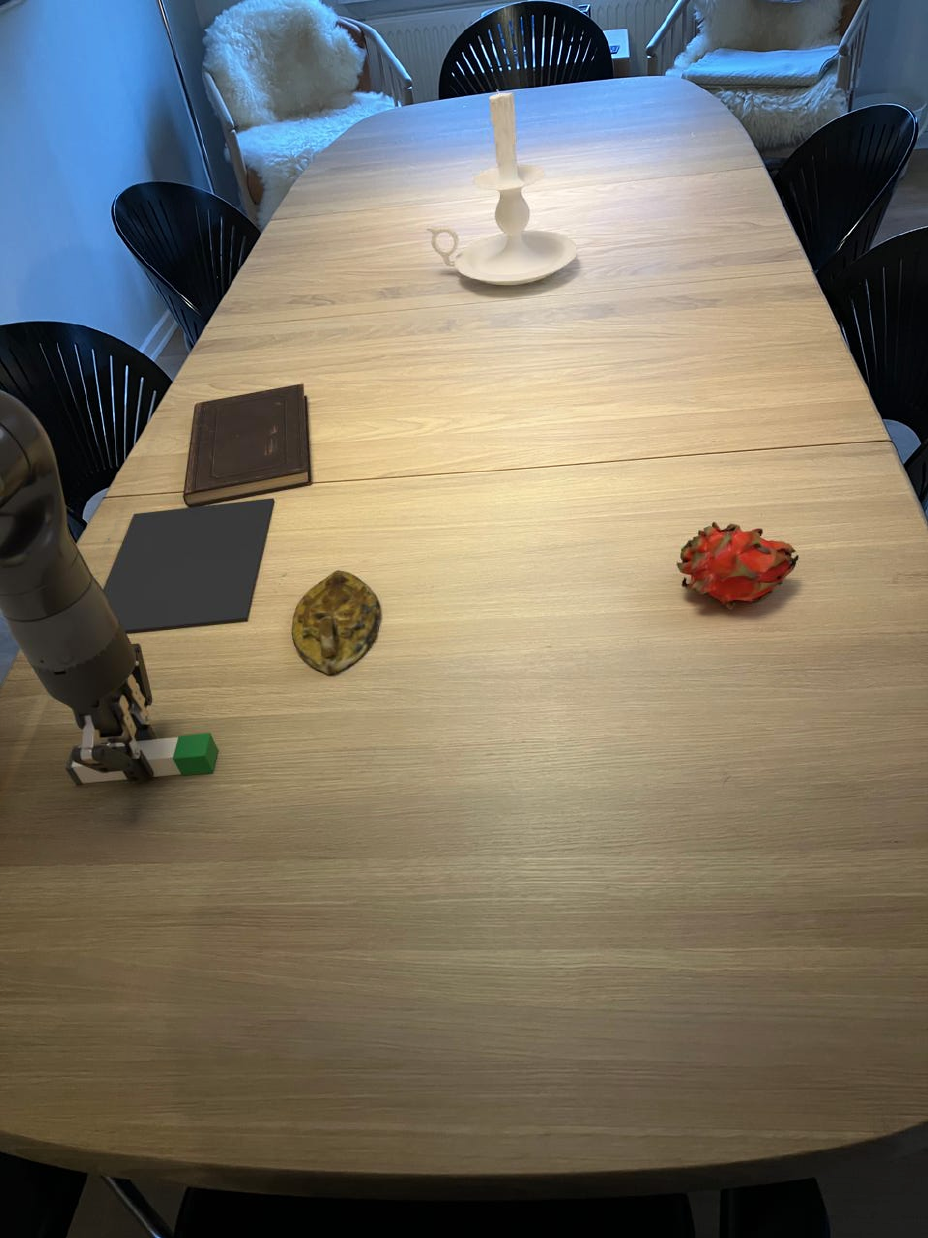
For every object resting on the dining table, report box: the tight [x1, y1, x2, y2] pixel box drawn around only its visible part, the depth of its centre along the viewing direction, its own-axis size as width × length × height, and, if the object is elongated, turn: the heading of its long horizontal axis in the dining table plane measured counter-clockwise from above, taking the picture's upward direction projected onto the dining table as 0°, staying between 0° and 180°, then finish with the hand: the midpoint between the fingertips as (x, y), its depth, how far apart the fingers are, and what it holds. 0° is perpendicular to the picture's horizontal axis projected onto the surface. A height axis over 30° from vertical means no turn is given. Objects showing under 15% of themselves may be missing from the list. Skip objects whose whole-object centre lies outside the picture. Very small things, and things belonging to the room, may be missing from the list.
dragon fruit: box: [675, 521, 800, 610], centre depth 91 cm, size 8×8×12 cm
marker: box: [65, 732, 219, 786], centre depth 85 cm, size 13×3×2 cm, turn 91°
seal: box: [291, 569, 382, 675], centre depth 96 cm, size 9×5×15 cm
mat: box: [102, 497, 275, 634], centre depth 108 cm, size 18×22×1 cm
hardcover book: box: [182, 382, 313, 508], centre depth 124 cm, size 16×23×2 cm
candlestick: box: [426, 89, 579, 286], centre depth 147 cm, size 21×25×28 cm
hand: (146, 765), depth 85 cm, fingers closed on marker, 2 cm apart
